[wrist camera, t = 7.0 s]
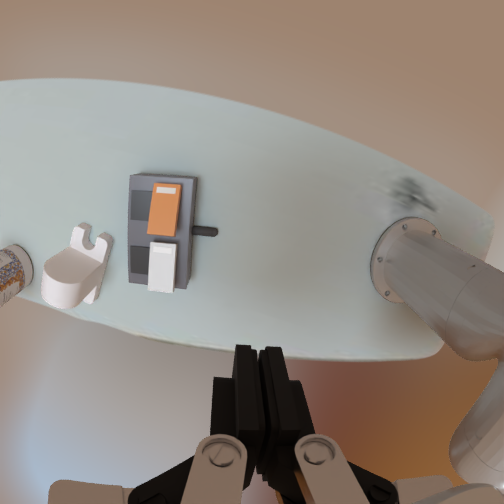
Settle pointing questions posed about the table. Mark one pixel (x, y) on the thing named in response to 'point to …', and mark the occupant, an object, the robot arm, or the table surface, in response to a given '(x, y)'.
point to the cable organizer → (76, 270)
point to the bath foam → (13, 272)
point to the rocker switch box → (141, 240)
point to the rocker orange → (164, 209)
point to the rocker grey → (162, 266)
